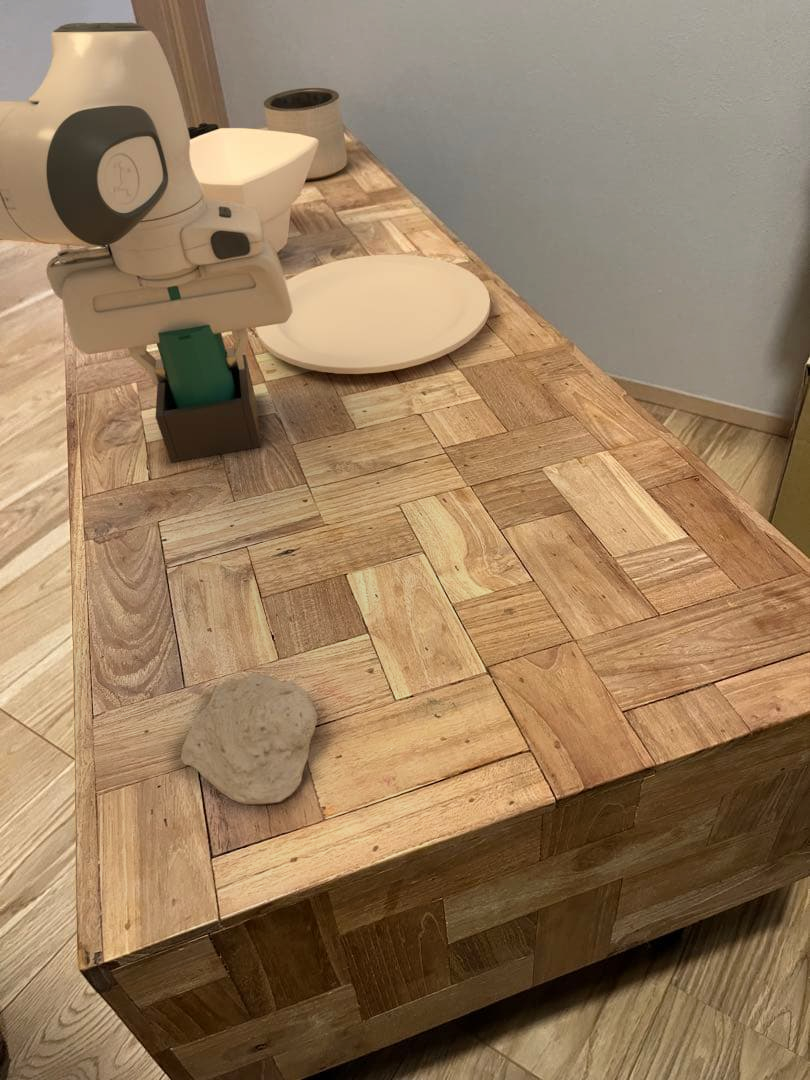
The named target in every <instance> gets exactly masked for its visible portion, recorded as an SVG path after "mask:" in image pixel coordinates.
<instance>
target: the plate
mask: <svg viewBox="0 0 810 1080" xmlns="http://www.w3.org/2000/svg"><path fill="white" fill-rule="evenodd" d="M286 282H287V286H288V290H289V294H290V298H291V303H292V309H293V312H292V314H291V316H290V318H289V319H288V321H287V322H285V323H280V324H274V325H268V326H261V327H255V328H254V329H255V333H256V336H257V338H258V340H259V342H260V344H261V345H262V346H263V347H264V348H265V350H266V351H268V352H269V353H270V354H272V355H273V356H275V357H276V358H278V359H279V360H281V361H284V362H285V363H288V364H289V365H294V366H296V367H299V368H302V369H306V370H311V371H316V372H322V373H330V374H340V375H342V374H344V375H345V374H347V375H352V374H353V375H362V374H363V375H364V374H375V373H376V374H377V373H384V372H391V371H398V370H403V369H406V368H411V367H415V366H419V365H422V364H425V363H427V362H431V361H433V360H434V361H435V360H436V359H439V358H441V357H443V356H446V355H448V354H450V353H452V352H455V351H456V350H457V349H459V348H460V347H462V346H463V345H465V344H467V343H468V342H469V341H470V340H471V339H473V338H474V337H475V336H476V335H477V334H478V333H479V332H480V331H481V330H482V328H483V327H484V326H485V324H486V322H487V320H488V319H489V316H490V310H491V299H490V294H489V293H490V292H489V290H488V288H487V287H486V286H485V283H483V282H482V279H481V280H480V278H479V277H478V276H477V275H475V274H474V273H473V272H471V271H469V270H468V269H466V268H465V267H462V266H460V265H458V264H455V263H451V262H449V261H446V260H442V259H438V258H434V257H428V256H420V255H412V254H374V255H364V256H357V257H350V258H345V259H344V258H343V259H340V260H336V261H331V262H328V263H325V264H321V265H318V266H315V267H312V268H310V269H308V270H305V271H302V272H300V273H298V274H296V275H294V276H292V277H290V278H288V279H286Z"/></svg>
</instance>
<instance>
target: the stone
mask: <svg viewBox="0 0 810 1080" xmlns="http://www.w3.org/2000/svg"><path fill="white" fill-rule="evenodd" d="M209 700H210V701H209V702H208V704H207V705H206V707H205V708H204V709H202V710H201V711H200V712H199V713H198V714H197V716H196V717H195V719H194V721H193V723H192V725H191V728H190V729H189V731H188V733H187V735H186V738H185V741H184V742H183V745H182V748H181V755H180V759H181V761H182V762H183V764H184V765H185V766H189V767H192V768H193V769H195V771H197V772H199V774H200V775H201V776H202V778H204V779H206V780H207V781H208V782H209V783H210V784H211V785H212V786H213V787H214V788H215V789H216V790H217V791H219V792H220V793H221V794H223V795H225V796H226V797H227V798H229V799H231V800H232V801H235V802H236V803H240V804H243V805H268V804H275V803H282V802H283V801H284V800H286V799H287V798H288V797H290V796H292V794H294V792H295V791H296V790H297V789H298V787H299V786H300V784H301V782H302V780H303V778H302V777H303V772H304V770H305V766H306V763H307V761H308V760H309V759H308V758H309V753H310V743H311V741H312V737H313V735H314V733H315V731H316V730H315V729H316V726H317V722H318V714H317V711H316V708H315V706H314V705H313V703H312V700H311V697H310V695H309V693H308V692H307V691H306V690H305V689H304V688H303V687H302V686H300V685H297V683H296V682H295V681H292V680H289V681H284V682H282V681H281V680H279V679H277V678H274V677H273V676H270V675H268V674H262V673H259V672H254V673H249V674H248V675H247V676H245V677H243V678H239V679H232V680H230V681H229V680H228V681H223V682H222V683H221V684H220V685H215V684H214V685H213V693H212V695H211V697H210V699H209Z"/></svg>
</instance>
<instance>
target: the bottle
mask: <svg viewBox="0 0 810 1080" xmlns="http://www.w3.org/2000/svg"><path fill="white" fill-rule="evenodd" d="M167 290H168V293H169V297H170V300H178V299H181V296H180V292H179V289H178V286H173V287H168V288H167ZM158 336H159V343H157V344H156V346H157V350H158V352H159V357H160V359H162V363H163V366H164V368H165V372H166V375H167V378H168V381H169V385H170V388H171V391H172V394H173V398H174V401H175V404H176V407H177V409H179V408H185V407H191V406H197V405H203V404H209V403H215V402H221V401H226V400H232V399H238V397H237V393H236V389H235V385H234V381H233V377H232V373H231V372H230V371H229V368H228V364H227V360H226V349H227V348H226V345H225V341H224V337H223V333H218V334H214V333H213V332H212V330H211V327H210V325H205V326H199V327H193V328H187V329H180V330H174V331H168V332H162V333H158Z"/></svg>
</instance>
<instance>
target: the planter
mask: <svg viewBox="0 0 810 1080" xmlns="http://www.w3.org/2000/svg"><path fill="white" fill-rule="evenodd" d="M263 109H264V115H265V121H266V128H267V130H268V131H277V132H286V133H295V134H301V135H305V136H309V137H313V138H316V139H317V140H318V142H319V144H318V147H317V150H316V152H315V155H314V158H313V161H312V163H311V166H310V169H309V172H308V174H307V177H306V180H305V182H306V181H308V182H309V181H316V180H321V179H326V178H328V177H332V176H334V175H336V174H338V173H340V172H341V171H342V170H343V169H344V168H345V167H346V166H347V164H348V153H347V145H346V137H345V130H344V123H343V116H342V106H341V100H340V94H339V92H338V91H336V90H334V89H330V88H325V87H303V88H302V87H301V88H295V89H289V90H284V91H281V92H279V93H275V94H273V95H270V96H269V97H267V98H266V99H265V100H264V101H263Z"/></svg>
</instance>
